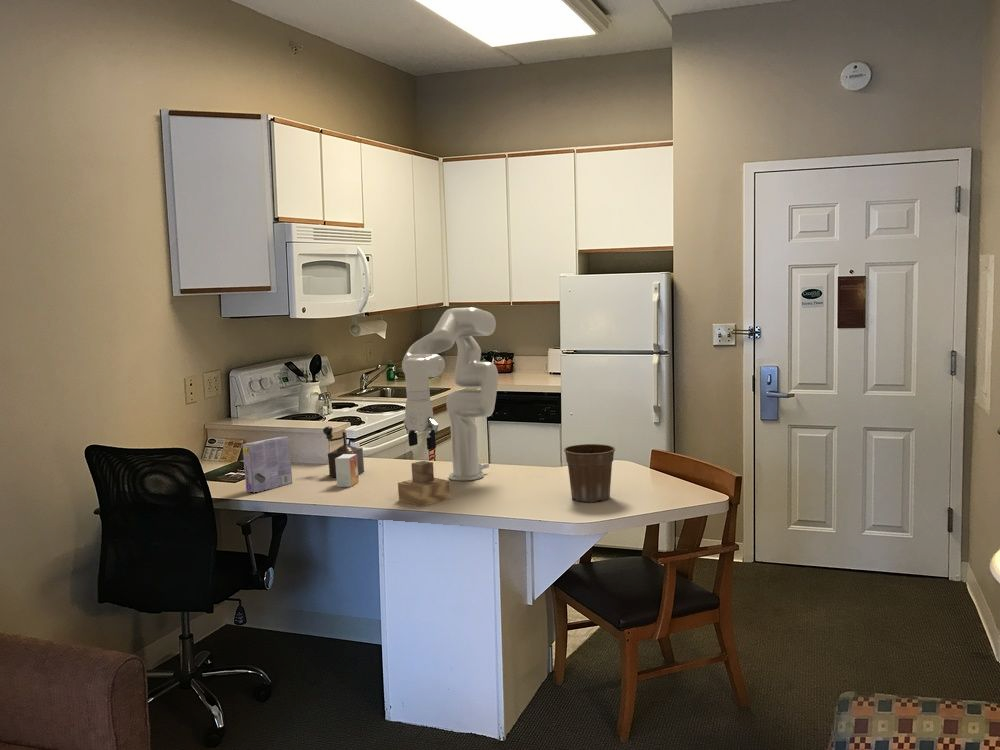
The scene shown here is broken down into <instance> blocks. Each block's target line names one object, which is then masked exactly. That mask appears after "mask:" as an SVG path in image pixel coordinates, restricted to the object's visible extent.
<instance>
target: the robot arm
mask: <svg viewBox="0 0 1000 750" xmlns="http://www.w3.org/2000/svg"><path fill="white" fill-rule="evenodd" d="M496 326H497V322H496V317H495V316H494V315H493V314H492V313H491V312H489V311H486V310H483V309H481V308H477V307H452V308H448V309H446V310H445V311H444V312H443V313H442V315H441V316H440V318H439V320H438V322H437V323H436V325H435V326H434V328H433V329H432V331H431V332H430V333H428V334H427V335H425V336H423V337H421V338H419V339H418V340H416V341H414V342H413V344H412V345H410V346H409V348H408V349H407V351H406V353H405V355H404V356H403V359H402V361H401V369H402V371H403V373H404V378H405V389H406V390H405V391H406V392H405V393H406V400H405V409H404V410H405V411H404V415H405V416H404V417H405V418H404V419H403V424H404V428H405V430H406V433H407V437H408V445H409V446H408V447H414V446H417V445H418V441H419V440H418V432H420V433H422V432H424V433H425V435H426V438H425V439H426V449H427V450H428V451H430V450H433V449H436V448H437V441H436V436H437V433H438V429H439V423H437V421H435V416H434V410H433V404H432V400H431V394H430V393H431V392H430V391H431V390H430V378H433V377H435V378H436V377H439V376H441V375H442V374H443V373H444V371H445V368H446V361H445V359H444V358H443V357H442V355H439V354H441V353H443V352H445V351H449V350H450V349H451V348H453V347H454V345H455V343H456V346H457V357H456V363H455V372H454V383H455V385H456V386H457V387H459V388H463V389H467V390H462V389H461V390H454V391H451V392H450V393H449V394H448V395H447V397H446V403H445V404H446V411H447V414H448V418H449V425H450V427H449V428H450V441H451V443H450V445H451V459H452V460H451V461H452V472H451V473H450V474H448V478H449V480H452V481H459V482H461V481H462V482H463V481H475V480H478V479H482V478H484V476H485V475H484V474H485V473H484V471H483V470H484V469H489V467H490V464H489V463H488V462H484V463H481V462H480V457H479V443H478V442H479V440H478V438H479V437H478V427H477V425H476V423H475V421H474V420H473V418H488V417H490V416H492V415H493V413H494V411H495V405H496V400H497V392H498V391H497V390H498V386H499V385H498V384H499V372H498V368H497V366H496V364H495V363H493V362H490V361H481V357H482V350H481V347H480V345H479V344H478V342H477V341H476V340H475V338H474V337H485V336H487V337H488V336H491V335H493V334H494V332H495V330H496ZM468 389H470V390H468ZM471 389H480V390H471Z"/></svg>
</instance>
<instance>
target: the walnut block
mask: <svg viewBox="0 0 1000 750" xmlns="http://www.w3.org/2000/svg"><path fill="white" fill-rule="evenodd" d="M434 475H435V474H434V462H431V461H427V460H420V461H416V462H411V477H412V480H413V482H418V483H425V482H429V481H434V478H435V476H434Z"/></svg>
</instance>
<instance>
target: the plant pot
mask: <svg viewBox="0 0 1000 750" xmlns="http://www.w3.org/2000/svg"><path fill="white" fill-rule="evenodd" d="M563 451H564V454H565V459H566V463H567V467H568V476H569V477H568V478H569V483H570V484H569V485H570V486H569V487H570V495H571V499H572V500H575V501H577V502H582V503H598V501H600V502H605V501H607V500H609V499H610V498H611V486H612V485H611V483H612V471H613V470H612V468H613V462H614V455H615V452H616V447H615V446H613V445H609V444H599V443H597V444H596V443H590V444H589V443H588V444H587V443H585V444H575V445H570V446H566V447H564V448H563Z"/></svg>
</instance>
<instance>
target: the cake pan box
mask: <svg viewBox="0 0 1000 750" xmlns="http://www.w3.org/2000/svg"><path fill="white" fill-rule="evenodd" d="M242 454H243V455H242V456H243V467H244V468H243V469H244V478H245V479H244V480H245V491H246V493H250V492H253V493H252V494H256V493H255V492H257V493H260V492H259V491H261V492H265V491H268V489H269V490H273V489H277V488H279V486H280V487H282V486H287V485H291V484H293V473H292V464H291V463H292V461H291V448H290V437H289V436H279V437H273V438H268V439H262V440H258V441H257V440H256V441H253V442H247V443H242ZM290 483H291V484H290ZM276 487H277V488H276ZM272 488H273V489H272ZM264 490H265V491H264Z"/></svg>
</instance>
